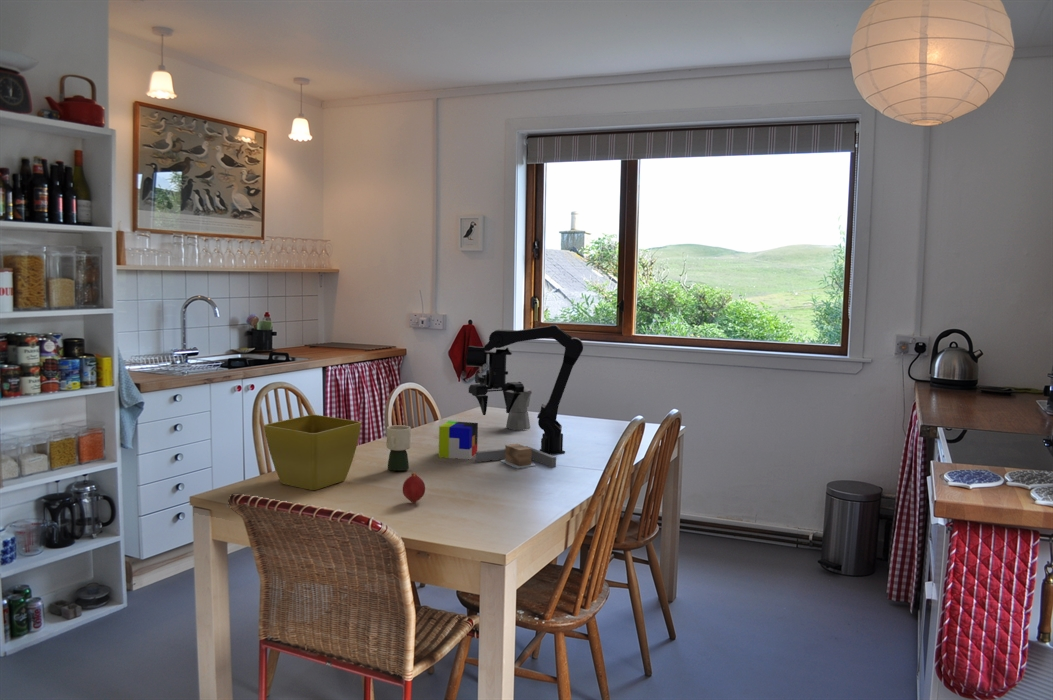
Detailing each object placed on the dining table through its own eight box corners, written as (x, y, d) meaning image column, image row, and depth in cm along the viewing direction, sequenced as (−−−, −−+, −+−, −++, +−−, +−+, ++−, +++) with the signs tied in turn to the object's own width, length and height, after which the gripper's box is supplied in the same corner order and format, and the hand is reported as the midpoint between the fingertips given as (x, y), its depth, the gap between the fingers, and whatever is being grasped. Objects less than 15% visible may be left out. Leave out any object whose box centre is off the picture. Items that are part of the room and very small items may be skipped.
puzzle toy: (468, 459, 248) (469, 428, 247) (438, 457, 250) (439, 426, 249) (477, 452, 258) (477, 423, 257) (448, 450, 260) (448, 421, 259)
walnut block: (531, 464, 242) (531, 448, 242) (519, 466, 240) (519, 450, 239) (516, 459, 249) (517, 443, 248) (505, 460, 246) (505, 445, 246)
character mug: (393, 465, 238) (394, 423, 237) (416, 467, 237) (416, 424, 235) (379, 473, 228) (380, 430, 226) (402, 475, 226) (403, 431, 225)
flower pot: (313, 496, 204) (313, 433, 202) (262, 484, 213) (261, 424, 211) (362, 480, 220) (363, 421, 219) (312, 470, 230) (312, 414, 228)
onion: (403, 499, 203) (403, 469, 202) (425, 499, 204) (425, 469, 203) (401, 506, 197) (401, 475, 196) (424, 506, 198) (424, 475, 197)
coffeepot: (538, 429, 298) (540, 382, 296) (521, 432, 291) (522, 384, 290) (511, 423, 309) (512, 378, 307) (493, 426, 302) (494, 379, 301)
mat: (519, 458, 250) (519, 458, 250) (536, 465, 242) (536, 465, 242) (500, 461, 247) (500, 460, 247) (516, 468, 238) (516, 467, 238)
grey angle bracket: (526, 455, 256) (527, 446, 256) (555, 466, 242) (556, 457, 241) (475, 461, 246) (475, 451, 246) (502, 473, 232) (502, 463, 231)
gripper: (508, 363, 271) (506, 408, 273) (460, 365, 261) (459, 412, 262) (525, 367, 262) (524, 413, 264) (477, 370, 252) (476, 417, 253)
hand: (495, 414), depth 261 cm, fingers open, 9 cm apart
